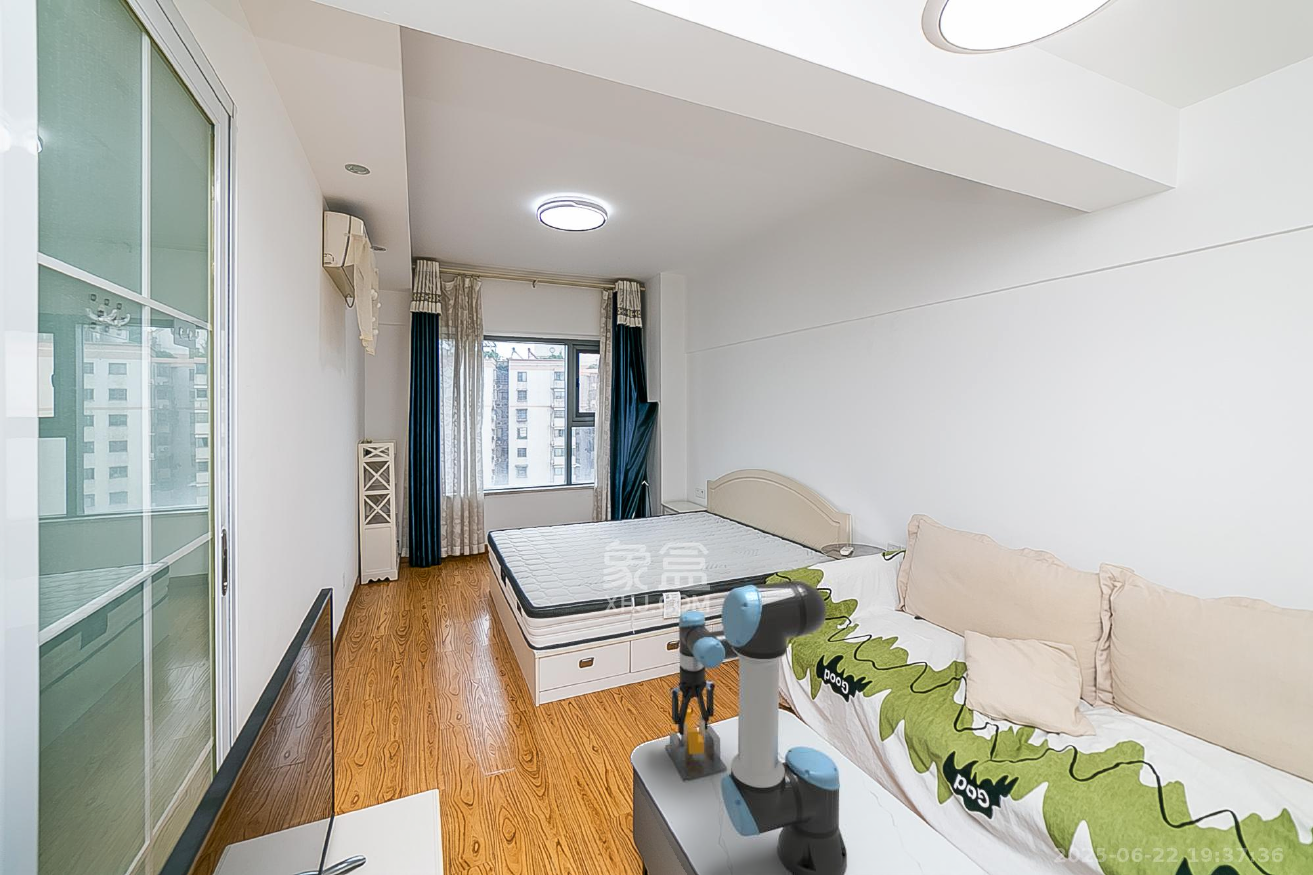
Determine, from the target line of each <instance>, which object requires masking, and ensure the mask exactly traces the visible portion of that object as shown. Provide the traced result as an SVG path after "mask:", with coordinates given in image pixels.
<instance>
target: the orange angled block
mask: <svg viewBox="0 0 1313 875" xmlns="http://www.w3.org/2000/svg"><path fill="white" fill-rule="evenodd" d="M692 716H693V715H692V709H691V708H688V709H687V714H686V718H685V723H686V725H687V749H688V753H689V754H697V753H704V741H703V738H702V735H701V734H700V732H699V730H698V727H693V719H692Z"/></svg>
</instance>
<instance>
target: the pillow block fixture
mask: <svg viewBox="0 0 1313 875" xmlns="http://www.w3.org/2000/svg"><path fill="white" fill-rule="evenodd" d="M679 736H680V735H678V733H677V732H673V733H669V744H665V746H664V749H665V750H666V753H667V754H668V756H669V757H670V760H671V761H672V763H673V764H674V767H675V768H676V769H677V771H678V773H679V775H680V777H681V778H682V780H683V782H687V781H692V780H695V779H699V778H703V777H707V776H712V775H716V774H720V773H724V772H727V771H728V770H727V769H728V767H727V765H726V764H725V763H724V762H723V759H721V737H720V736H719V735H718V733H717V732H716V731H715V729H714V728H713V726H711V724H710V725H709V724H708V728H707V730H705V743H704V753H697V754H689V753H688V749H687V747H685V746H684V744H683V743H682V741H681V737H679Z"/></svg>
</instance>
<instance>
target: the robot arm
mask: <svg viewBox="0 0 1313 875" xmlns="http://www.w3.org/2000/svg"><path fill="white" fill-rule="evenodd" d="M827 611H828V610H827V604H826V601H825V599H824V598H823V596H822V594H821V593H820V591H819V590H818V589H816V588H815V587H814V586H813V585H810V584H809V583H806V582H804V581H799V580H786V581H781V582H779V581H778V582H773V583H772V582H771V583H762V584H748V585H745V586H741V587H735V588H733V589H731V590H730V591H729V592H728V593H727V594H726V596H725V598H724V600H723V603H722V607H721V625H722V627H723V628H722V630H715V631H709V630H708V629H707V628H706V617H705V614H704V613H702V612H701V611H698V610H687V611H686V610H685V611H683V612H682V613H680V615H679V620H678V631H679V632H678V633H679V634H678V636H679V639H678V640H679V641H678V642H679V643H678V644H679V682H678V685H677V686H676V687H675V688H674V687H670V689H669V691H670V694H671V721H673V723H674V724H675V725H677V728H678V729H677V731H678V733H679V736H680V739H681V741H682V743H683V744H684V746H685V747H687V725H686V723H685V718H686V714H687V709H689V704H690V702H691V699H693V698H696V700H697V704H698V708H699V712H700V716H699V717H698V732H700V734H701V735H702V738H703V741H704V743H705V730H707V728H708V726H709V724H708V723H709V721H710V718H713V717H714V715H715V714H714V713H715V712H714V711H715V710H714V709H715V708H714V691H715V688H716V685H715V684H714V682H713V681H712V680H708V681H707V680H706V668H707V669H716V668H718V667H719V666H720V665H722V663H723V662H724V660H728V659H729V660H730V659H734V658H738V717H737V718H738V719H737V720H738V722H737V723H738V726H737V727H738V732H737V733H738V734H737V735H738V736H737V740H738V741H737V742H738V743H737V752H738V753H737V754H736V755H735V756H734V757H733V758H732V760H731V764H730V773H727V774H725V775H723V776H722V777H721V780H720V789H721V797H722V800H723V803H724V807H725V810H726V812H727V816H728V818H729V820H730V822H731V824H732V826H733V828H734V830H735V831H736V832H737V833H738V834H739V835H740V836H743V837H750V836H760V835H761V834H764V833H767V832H768V833H769V832H771V831H774V830H778V829H779V830H780V829H781V828H782V829H781V830H780V832H779V836H778V840H777V841H778V842H777V843H778V844H777V845H778V847H777V848H778V851H777V852H778V856H779V859H780V861H781V863H782V864H783V866H784V867H785V869H787V871H789V872H790V873H792V875H844V874H845V872H846V869H847V866H848V853H847V848H846V844H845V841H844V839H843V836H842V835H843V834H842V833H841V829H840V827H839V826H840V788H841V784H840V774H839V768H838V766H837V765H836V762H835V761H834V760H833V759H832V758H831V757H830V756H828V755H827V754H826V753H824V752H823V751H820V750H817V749H815V748H813V747H807V746H794V747H791V748H789V749H788V750H787V752H786V754H785V756H784V757H785V758H784V759H785V761H784V762H782V761H781V760H780V759H779V714H780V712H779V710H780V709H779V705H780V704H779V701H780V700H779V699H780V697H779V696H780V659H781V658H782V657H784V656H786V653H787V645H788V644H787V642H788V639H792V638H798V637H802V636H806V635H810V634H812V633H815V632H816V631H818V630H819V629H820V628H821V627H823V624H825V622H826V618H827ZM704 690H706V694H705V696H706V703H705V700H704V695H703V691H704ZM680 692H681V693H682V695H681V702H680V703H679V700H680V699H679V696H680ZM679 704H680V706H679ZM705 704H706V705H705Z"/></svg>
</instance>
